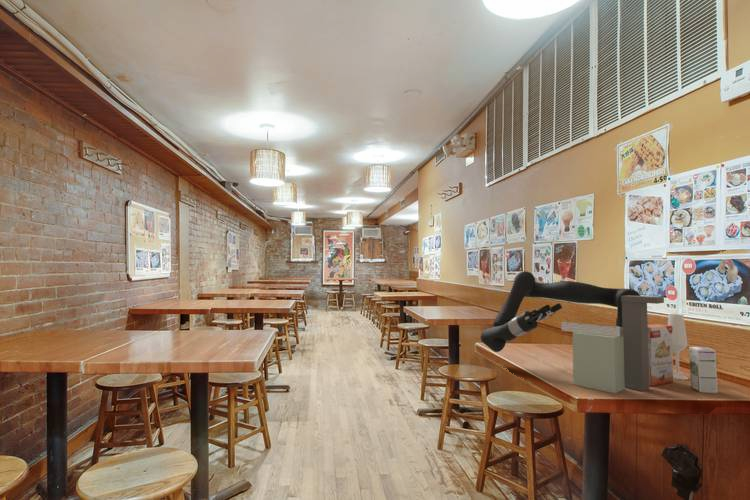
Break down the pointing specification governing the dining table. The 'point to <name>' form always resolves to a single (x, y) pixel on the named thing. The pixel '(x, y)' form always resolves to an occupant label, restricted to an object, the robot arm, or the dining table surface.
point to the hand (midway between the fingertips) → (555, 306)
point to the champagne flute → (678, 340)
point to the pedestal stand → (636, 340)
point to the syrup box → (703, 369)
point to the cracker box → (660, 354)
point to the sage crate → (598, 362)
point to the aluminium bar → (592, 329)
